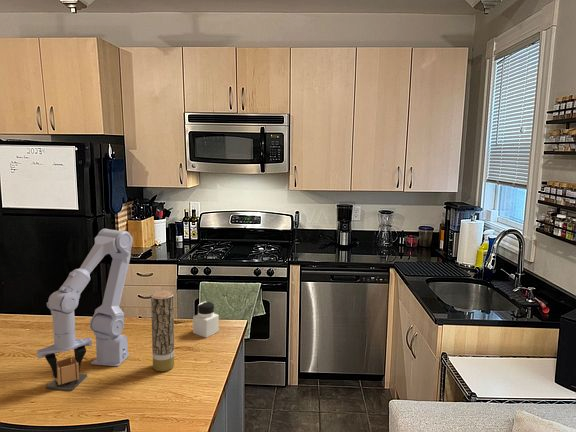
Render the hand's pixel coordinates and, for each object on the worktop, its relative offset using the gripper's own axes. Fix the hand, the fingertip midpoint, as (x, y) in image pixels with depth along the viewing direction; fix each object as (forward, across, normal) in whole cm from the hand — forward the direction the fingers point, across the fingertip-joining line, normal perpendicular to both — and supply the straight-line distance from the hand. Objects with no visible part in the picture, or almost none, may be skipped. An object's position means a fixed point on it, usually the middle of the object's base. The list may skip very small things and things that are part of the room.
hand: (66, 373), depth 128 cm
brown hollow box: (+1, 0, 0) cm, 1 cm away
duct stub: (+3, 0, 0) cm, 3 cm away
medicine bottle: (+3, -51, -7) cm, 51 cm away
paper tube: (+3, -27, +8) cm, 28 cm away
